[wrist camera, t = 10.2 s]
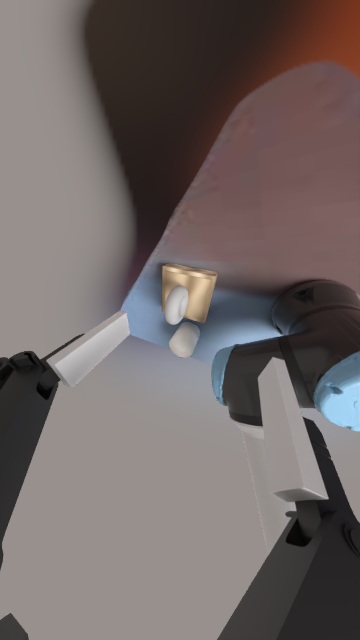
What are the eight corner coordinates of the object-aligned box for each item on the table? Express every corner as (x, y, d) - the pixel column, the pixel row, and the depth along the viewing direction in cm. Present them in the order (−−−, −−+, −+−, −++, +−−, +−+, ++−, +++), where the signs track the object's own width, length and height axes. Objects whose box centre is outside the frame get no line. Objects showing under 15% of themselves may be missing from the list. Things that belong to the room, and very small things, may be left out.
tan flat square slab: (218, 272, 35) (215, 276, 32) (207, 316, 44) (204, 324, 40) (168, 263, 39) (162, 266, 36) (167, 305, 47) (161, 311, 44)
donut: (179, 278, 36) (162, 292, 28) (192, 281, 35) (177, 296, 27) (176, 311, 41) (161, 330, 34) (187, 314, 41) (174, 334, 33)
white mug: (202, 325, 46) (194, 342, 39) (196, 347, 52) (190, 366, 45) (179, 319, 48) (169, 334, 41) (177, 341, 54) (168, 357, 47)
